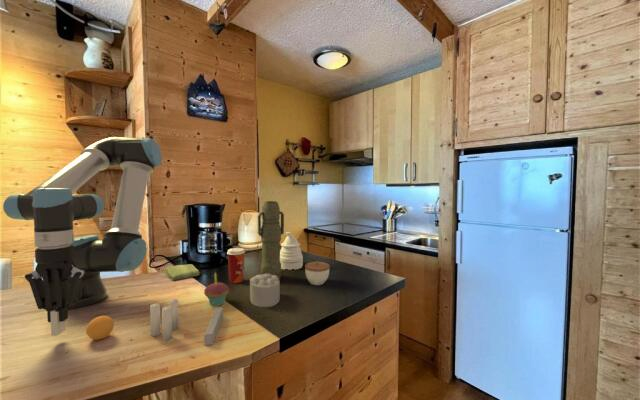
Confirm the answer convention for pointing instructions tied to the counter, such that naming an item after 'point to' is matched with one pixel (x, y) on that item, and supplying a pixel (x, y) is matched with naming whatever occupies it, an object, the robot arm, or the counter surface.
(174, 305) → the pin
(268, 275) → the lumpy-topped squat cylinder
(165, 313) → the pin
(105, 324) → the ball
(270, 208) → the thermos
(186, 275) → the washcloth
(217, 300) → the cupcake
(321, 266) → the lidded jar
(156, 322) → the front pin
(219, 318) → the white long bar
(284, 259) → the honey pot
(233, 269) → the paper cup
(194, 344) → the counter surface
